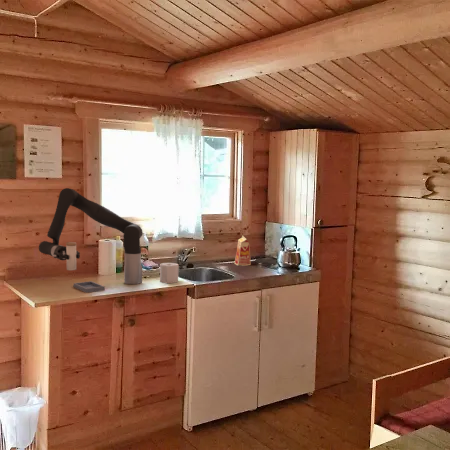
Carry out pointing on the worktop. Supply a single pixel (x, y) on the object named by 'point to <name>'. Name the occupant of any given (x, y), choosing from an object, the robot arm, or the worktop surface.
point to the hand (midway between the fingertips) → (73, 257)
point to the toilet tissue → (169, 272)
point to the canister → (71, 255)
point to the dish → (89, 286)
